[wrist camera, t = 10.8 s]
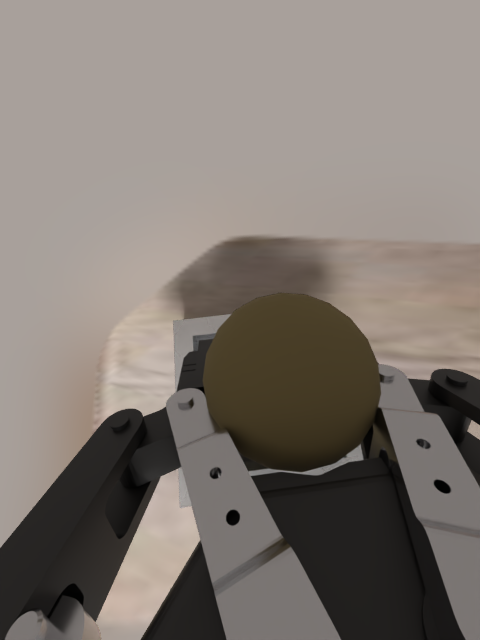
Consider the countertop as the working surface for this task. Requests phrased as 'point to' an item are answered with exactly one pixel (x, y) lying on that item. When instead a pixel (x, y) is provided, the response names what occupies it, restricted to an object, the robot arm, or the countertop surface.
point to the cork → (292, 382)
